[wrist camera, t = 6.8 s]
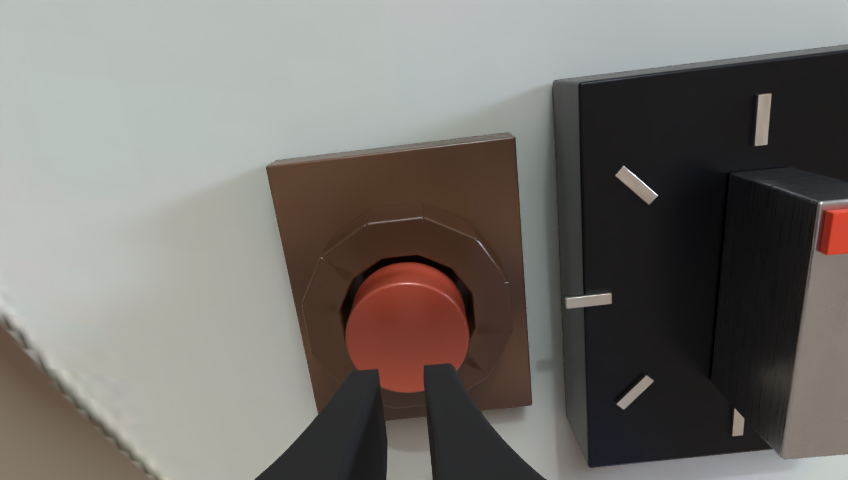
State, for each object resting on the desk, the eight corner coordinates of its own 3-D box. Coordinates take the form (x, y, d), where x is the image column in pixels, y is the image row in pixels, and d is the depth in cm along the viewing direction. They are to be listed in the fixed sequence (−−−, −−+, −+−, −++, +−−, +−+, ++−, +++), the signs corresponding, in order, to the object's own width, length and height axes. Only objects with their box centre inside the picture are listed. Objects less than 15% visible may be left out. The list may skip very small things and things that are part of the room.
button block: (526, 387, 21) (543, 438, 18) (326, 408, 21) (311, 462, 18) (509, 132, 18) (526, 143, 15) (274, 160, 18) (247, 177, 15)
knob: (765, 378, 17) (858, 461, 13) (709, 382, 17) (788, 467, 14) (791, 166, 15) (911, 197, 11) (728, 171, 15) (827, 204, 11)
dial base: (832, 387, 21) (902, 440, 18) (550, 416, 21) (572, 474, 18) (881, 39, 17) (982, 33, 14) (533, 82, 17) (558, 84, 14)
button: (469, 356, 17) (475, 387, 16) (361, 368, 17) (355, 400, 16) (459, 254, 16) (463, 275, 14) (343, 268, 16) (334, 290, 15)
